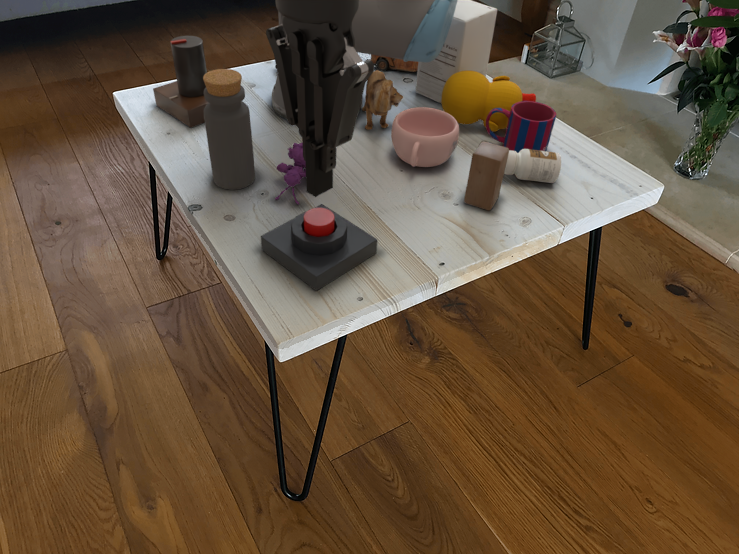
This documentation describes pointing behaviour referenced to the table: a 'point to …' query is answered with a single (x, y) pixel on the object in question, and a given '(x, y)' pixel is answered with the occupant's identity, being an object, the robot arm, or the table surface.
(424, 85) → the white product box
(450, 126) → the mug
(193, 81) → the dial
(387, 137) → the table surface
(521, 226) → the table surface
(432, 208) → the table surface
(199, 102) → the dial panel
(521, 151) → the pill bottle
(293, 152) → the purple lumpy piece
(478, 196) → the wooden block
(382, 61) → the toy car
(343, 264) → the switch base
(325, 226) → the switch
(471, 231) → the table surface
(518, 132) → the cup
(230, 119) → the bottle
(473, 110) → the toy
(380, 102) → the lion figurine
